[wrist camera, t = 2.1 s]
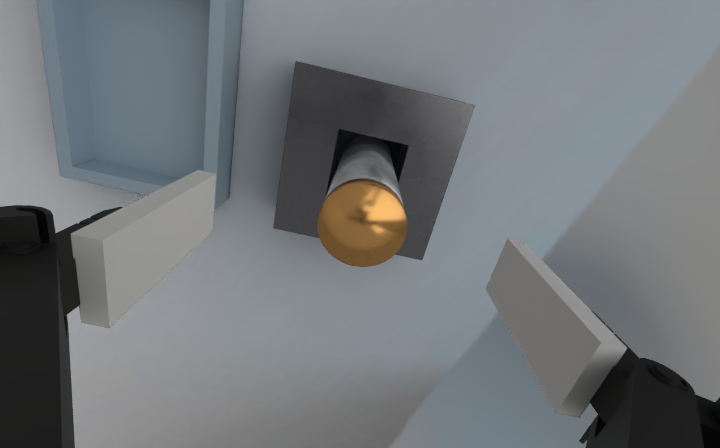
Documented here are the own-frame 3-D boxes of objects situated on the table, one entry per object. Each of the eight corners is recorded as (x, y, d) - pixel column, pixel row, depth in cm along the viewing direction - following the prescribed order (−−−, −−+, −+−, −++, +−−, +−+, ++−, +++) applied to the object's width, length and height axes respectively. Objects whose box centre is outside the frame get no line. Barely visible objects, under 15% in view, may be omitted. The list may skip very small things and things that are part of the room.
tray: (67, -62, 23) (25, -81, 20) (245, -16, 23) (228, -29, 21) (89, 166, 29) (60, 176, 26) (229, 197, 30) (214, 209, 27)
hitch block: (306, 63, 25) (295, 61, 22) (460, 101, 26) (475, 105, 22) (285, 209, 30) (273, 228, 26) (416, 238, 31) (422, 260, 27)
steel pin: (348, 129, 27) (326, 175, 14) (396, 141, 27) (418, 196, 14) (338, 177, 29) (310, 256, 16) (384, 187, 29) (394, 274, 16)
